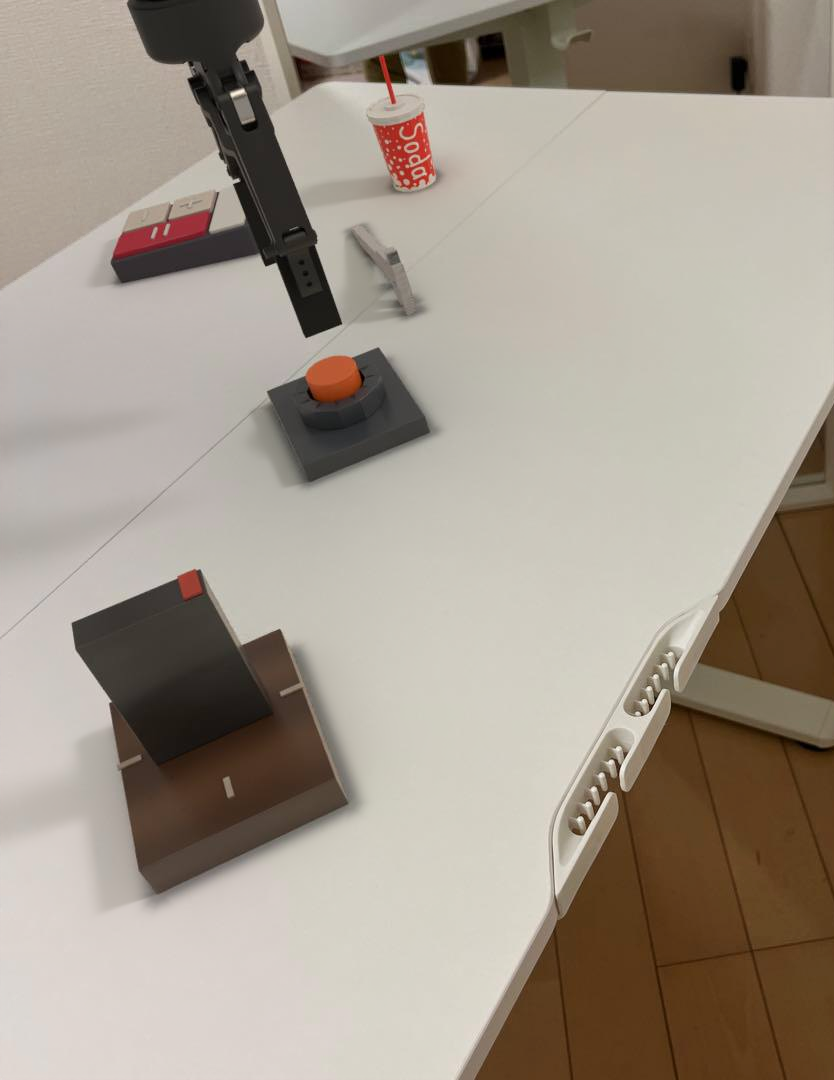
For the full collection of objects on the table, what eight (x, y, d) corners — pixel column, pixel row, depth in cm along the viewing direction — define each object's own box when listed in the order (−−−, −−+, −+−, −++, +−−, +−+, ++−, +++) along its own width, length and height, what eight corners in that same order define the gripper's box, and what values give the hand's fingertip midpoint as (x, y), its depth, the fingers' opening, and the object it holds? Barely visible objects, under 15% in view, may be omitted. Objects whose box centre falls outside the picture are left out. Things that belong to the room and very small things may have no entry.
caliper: (420, 317, 99) (402, 255, 95) (409, 322, 99) (390, 259, 95) (361, 232, 114) (343, 175, 110) (351, 235, 114) (333, 178, 110)
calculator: (124, 209, 120) (255, 173, 119) (143, 244, 123) (270, 210, 122) (105, 257, 112) (245, 219, 111) (125, 293, 115) (262, 257, 114)
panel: (127, 732, 69) (105, 700, 67) (296, 657, 71) (280, 624, 69) (160, 901, 59) (135, 870, 57) (354, 809, 61) (336, 776, 59)
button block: (275, 412, 92) (258, 372, 90) (385, 368, 94) (372, 328, 91) (311, 488, 84) (294, 447, 81) (432, 438, 86) (419, 396, 83)
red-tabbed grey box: (156, 765, 62) (72, 646, 55) (150, 738, 64) (68, 619, 57) (273, 713, 64) (206, 590, 57) (265, 687, 65) (198, 565, 58)
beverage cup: (393, 205, 117) (354, 73, 108) (385, 183, 122) (348, 54, 113) (448, 190, 118) (415, 57, 108) (439, 168, 122) (406, 38, 113)
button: (306, 385, 88) (299, 367, 86) (353, 367, 88) (347, 349, 87) (320, 410, 85) (312, 391, 83) (368, 390, 85) (361, 372, 84)
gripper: (290, 1, 58) (399, 346, 73) (207, -76, 75) (308, 215, 90) (152, 45, 57) (291, 388, 71) (100, -43, 74) (220, 247, 88)
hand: (301, 292), depth 81 cm, fingers open, 12 cm apart
